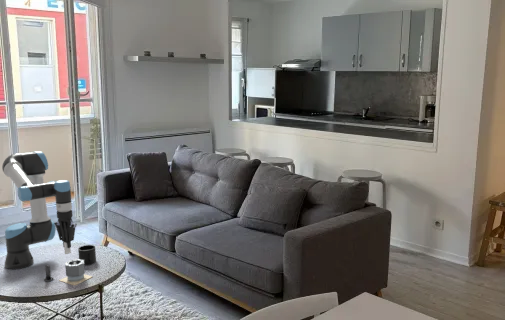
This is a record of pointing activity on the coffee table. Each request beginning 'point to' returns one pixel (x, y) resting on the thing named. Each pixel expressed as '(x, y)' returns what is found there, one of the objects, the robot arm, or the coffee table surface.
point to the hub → (75, 279)
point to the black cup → (87, 254)
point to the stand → (48, 274)
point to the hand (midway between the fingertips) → (67, 253)
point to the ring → (74, 268)
